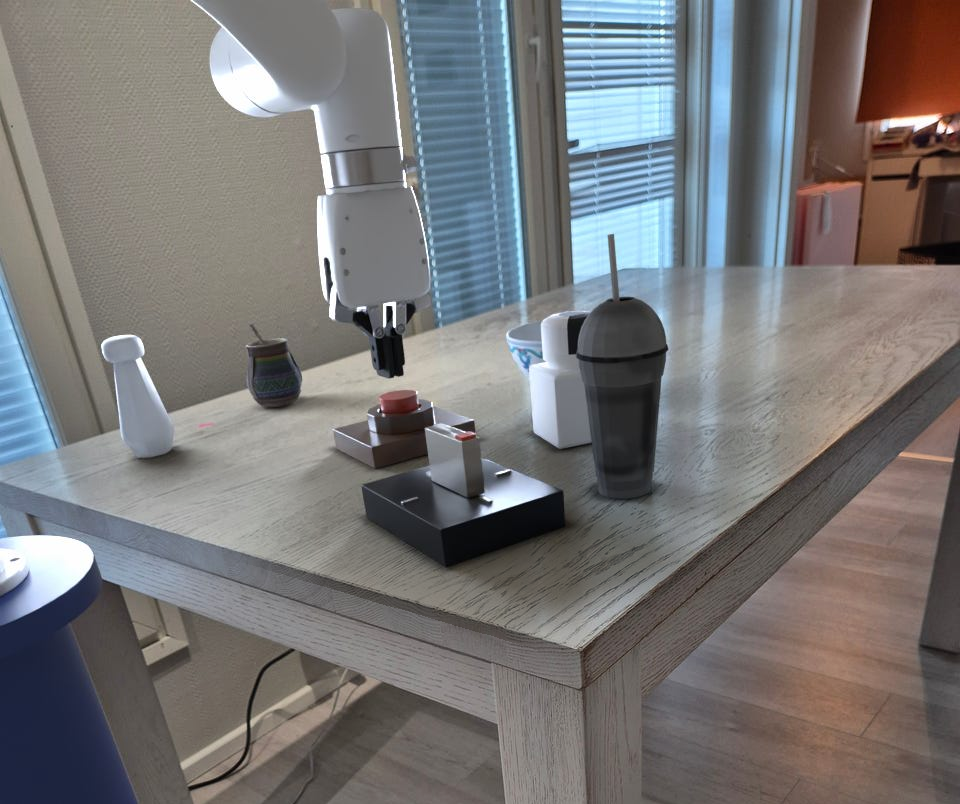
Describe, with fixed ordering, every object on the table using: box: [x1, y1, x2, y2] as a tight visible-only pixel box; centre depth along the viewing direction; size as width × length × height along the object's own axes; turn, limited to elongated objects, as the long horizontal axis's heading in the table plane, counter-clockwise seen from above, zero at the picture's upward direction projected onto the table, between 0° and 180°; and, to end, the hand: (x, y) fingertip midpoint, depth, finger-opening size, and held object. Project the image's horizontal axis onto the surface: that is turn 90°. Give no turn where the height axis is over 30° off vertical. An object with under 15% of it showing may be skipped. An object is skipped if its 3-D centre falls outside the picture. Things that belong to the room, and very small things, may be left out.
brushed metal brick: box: [425, 423, 485, 498], centre depth 69 cm, size 6×2×5 cm, turn 32°
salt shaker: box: [101, 334, 175, 458], centre depth 97 cm, size 6×6×13 cm
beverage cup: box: [576, 233, 669, 500], centre depth 69 cm, size 7×7×20 cm
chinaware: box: [505, 319, 546, 381], centre depth 102 cm, size 15×15×8 cm
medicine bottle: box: [529, 310, 592, 450], centre depth 86 cm, size 7×7×12 cm
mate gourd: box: [244, 323, 303, 409], centre depth 114 cm, size 7×8×10 cm
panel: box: [360, 457, 566, 568], centre depth 71 cm, size 11×14×3 cm
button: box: [378, 389, 419, 414], centre depth 91 cm, size 4×4×2 cm
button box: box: [332, 398, 477, 469], centre depth 92 cm, size 12×10×4 cm
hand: (390, 375), depth 89 cm, fingers closed
